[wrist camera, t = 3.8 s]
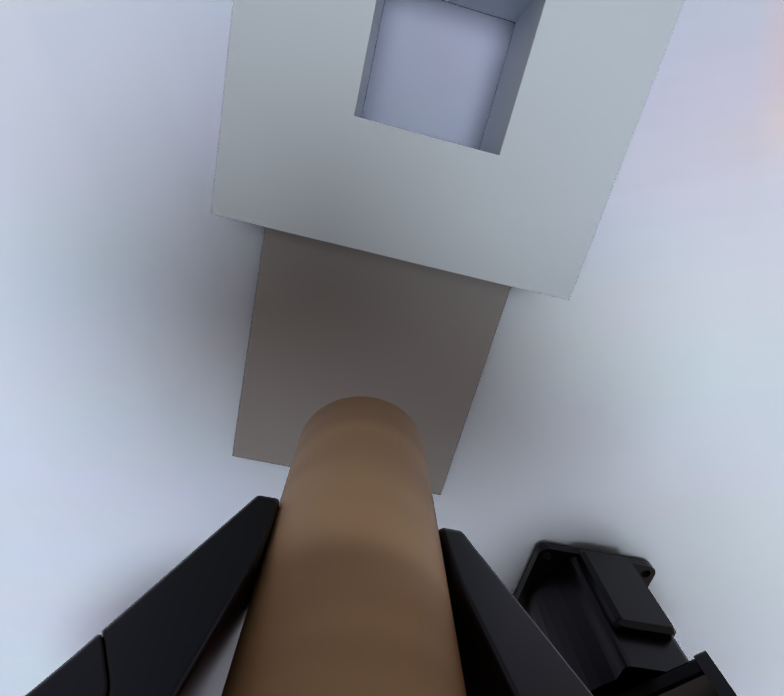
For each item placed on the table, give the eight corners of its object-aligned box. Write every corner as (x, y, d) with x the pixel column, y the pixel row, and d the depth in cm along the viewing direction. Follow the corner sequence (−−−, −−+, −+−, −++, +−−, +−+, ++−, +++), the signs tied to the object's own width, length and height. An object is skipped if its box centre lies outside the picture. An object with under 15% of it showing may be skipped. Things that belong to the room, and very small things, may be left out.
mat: (439, 490, 22) (440, 494, 22) (234, 452, 21) (232, 455, 21) (537, 198, 18) (540, 199, 17) (280, 130, 16) (279, 129, 16)
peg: (406, 513, 11) (486, 1444, 3) (288, 492, 11) (8, 1470, 3) (438, 410, 10) (690, 1373, 2) (309, 384, 10) (-24, 1395, 2)
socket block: (535, 279, 19) (568, 300, 15) (242, 207, 17) (211, 213, 14) (662, -78, 15) (743, -152, 11) (294, -204, 13) (266, -329, 10)
